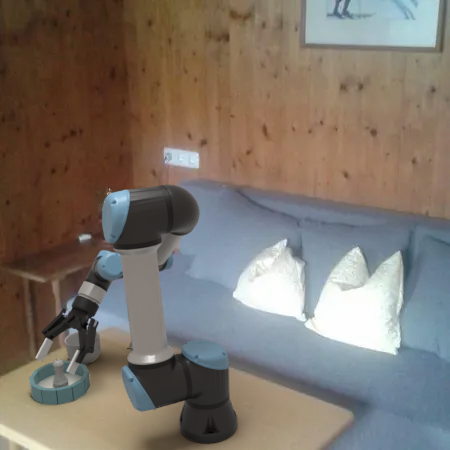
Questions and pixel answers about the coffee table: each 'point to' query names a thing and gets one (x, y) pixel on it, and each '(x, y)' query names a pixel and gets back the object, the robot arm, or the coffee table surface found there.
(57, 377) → the rook chess piece
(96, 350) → the teacup
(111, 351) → the coffee table surface
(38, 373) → the dish
